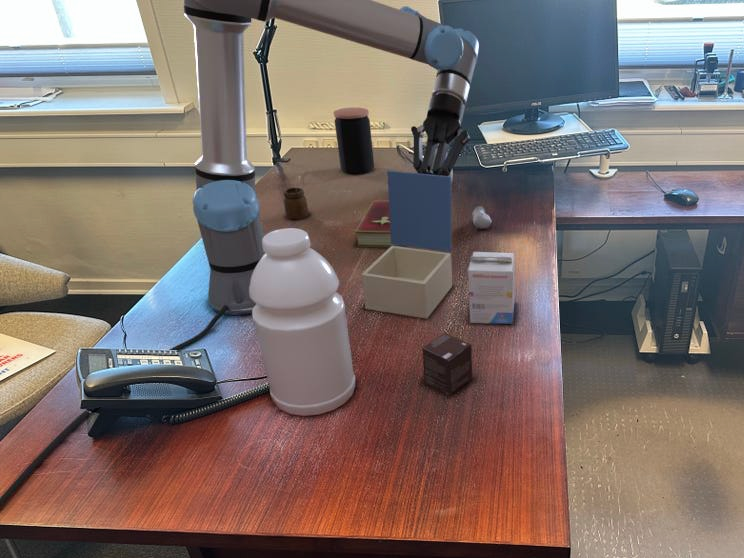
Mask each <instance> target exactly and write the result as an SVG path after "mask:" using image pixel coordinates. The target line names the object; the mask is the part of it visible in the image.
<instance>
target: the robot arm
mask: <svg viewBox="0 0 744 558" xmlns="http://www.w3.org/2000/svg"><path fill="white" fill-rule="evenodd" d="M182 1H183V13H184V16H185V17H186V18H187V20H188V21H189V22H190V23H191V24H192V26H193V29H194V30H193V31H194V43H195V44H194V46H195V47H194V48H195V62H196V77H197V78H196V80H197V94H198V109H199V110H198V111H199V125H200V141H201V143H200V144H201V156H200V158H198V159H197V160H196V162H194V172H195V173H194V174H195V186H196V188H195V192H194V194H193V196H192V205H193V206H192V209H193V214H194V217H195V219H196V221H197V225H198V228H199V233H200V236H201V240H202V243H203V247H204V251H205V254H206V259H207V262H208V266H209V270H210V271H209V282H208V291H207V296H208V302H209V305H210V308H211V309H212V310H213V311H215V312H217V313H216V314H215V315H214V316H213V318H211V320H210V321H209V323H208V324H207V325H206V327H205V328H204V329H203V330H202V331H200V332H199V333H198V334H196V335H195V336H193V337H191V338H189V339H188V340H185V341H184V342H181V343H179V344H177V345H175V346H173V347H172V348H169V350H178V351H181V350H183V349H184V348H187V347H189V346H191V345H192V344H194V343H196V342H198V341H200V340H201V339H203V338H204V337H205V336H206V335H208V333H209V332H210V331H211V330H212V328H213V327H214V326H215V324H217V322H218V321H219V320H220V318H221V317H222V316H223V315H227V316H247V315H252V310H253V308H254V307H255V305H256V303H255V302H254V301H253V300H252V299H251V298H250V296H249V286H250V280H251V276H252V273H253V271H254V269H255V267H256V265H257V264H258V262H259V261H260V260H261V258H262V257H263V255H264V254H265V252H264V251H263V246H262V239H263V237H264V236H265V232H264V227H263V222H262V218H261V212H260V203H259V198H258V197H257V195H256V167H255V165H254V164H253V163H252V162H251V161H249V159H248V151H247V149H248V147H247V117H246V116H247V115H246V111H247V110H246V84H245V83H246V81H245V80H246V79H245V77H246V76H245V46H244V45H245V43H244V42H245V41H244V33H245V31H246V30H247V29H248V28H249V27H250V26H252V19H253V20H256V21H261V22H262V23H268V22H269V21H271V20H272V19H276V20H279V21H283V22H286V23H289V24H293V25H296V26H299V27H303V28H306V29H309V30H313V31H316V32H319V33H323V34H326V35H330V36H333V37H335V38H340V39H343V40H346V41H350V42H353V43H356V44H360V45H362V46H366V47H369V48H372V49H376V50H380V51H383V52H387V53H390V54H393V55H396V56H400V57H402V58H405V59H410V60H412V61H415V62H418V63H422V64H426V65H428V66H430V67H431V68H433V69H435V70H437V72H436V76H435V81H434V85H433V88H432V91H431V97H430V100H429V104H428V108H427V111H426V118H425V119H424V120H423V122H422V124H421V125H420V126H418V127H417V126H415V125H413V126H411V127H410V131H411V133H412V136H413V164H412V165H413V169H414V170H415V171H416V173H420V174H430V175H440V176H449V175H450V173H451V171H452V169H453V168H454V167H455V165H456V163H457V160H458V158H459V156H460V155H461V152H462V151H463V148H464V147H465V146H466V145H467V144H468V142H470V141H471V138H470V135H469V133H468V130H466V129H463V127H462V121H463V117H464V114H465V109H466V105H467V101H468V96H469V94H470V93H469V92H470V87H471V83H472V79H473V75H474V71H475V68H476V65H477V63H478V54H479V48H480V44H479V40H478V38H477V36H476V35H475V34H473V32H471V31H469V30H464V28H453V26H450V25H448V24H444V23H441V22H437V21H435V20H432V19H430V18H427V17H425V16H424V15H423V14H421V13H420V12H419V11H418V10H415V9H413V8H411V7H409V6H407V5H405V6H402V7H400V9H399V8H395V7H392V6H390V5H387V4H384V3H381V2H378V1H375V0H182ZM424 133H425V134H426V136H427V139H426V140H427V141H426V147H425V151H424V155H423V147H424V146H423V144H424V143H423V138H424V135H425V134H424ZM453 140H454V141H453ZM451 142H453V143H452V144H451ZM450 144H451V145H452V146H451V147H450ZM436 149H437V153H436V157H435V161H434V165H433V169H432V168H431V167H432V163H433V159H434V155H435V151H436ZM448 150H449V151H448ZM446 153H447V157H446ZM445 157H446V159H445ZM431 170H432V172H433V174H432V173H431V172H430V171H431ZM86 410H87V409H85V410H84V411H83V412H82V413H81V414H80V415H79V416H77V417H76V418H75V419H74V420H73V421H72V422H71V423H70V424H69V425H68V426H66V427H65V428H64V429H63V430H62V431H61V432H60V433H59V434H58V435H57V436H56V437H55V438H54V439H53V440H52V441H51V442H50V443H49V444H48V445H47V446H46V447H45V448H43V450H42V451H41V452H40V454H38V455H37V456H36V457H35V458H34V459H33V461H32V462H31V463H30V464H29V465H27V467H26V468H25V469H24V470H23V471H22V472H21V474H19V476H18V477H17V478H16V479H15V481H14V482H13V483H12V484H11V485H10V486H9V487H8V489H6V490H5V491H4V493H2V495H0V509H1V508H2V507H4V505H5V504H6V503H7V501H8V500H9V499H10V498H11V497H12V496H13V495H14V494H15V492H16V491H18V489H19V488H20V487H21V486H22V484H23V483H24V482H25V481H26V480H27V478H29V477H30V475H31V474H32V473H33V472H34V471H35V470H36V469H37V468H38V466H40V464H41V463H43V461H44V460H45V459H46V458H47V457H48V456H49V455H50V454H51V453H52V451H53V450H55V448H56V447H57V446H58V445H60V443H61V442H62V441H63V440H64V439H66V437H68V436H69V434H71V433H72V432H73V431H74V430H75V429H76V428H77V427H78V426H79V425H80V424H81V423H82V422H83V421H85V419H86V418H88V417H89V416H90V415H91V414H90V413H89V412H87V411H86Z"/></svg>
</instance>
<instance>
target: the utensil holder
mask: <svg viewBox="0 0 744 558" xmlns="http://www.w3.org/2000/svg"><path fill="white" fill-rule="evenodd" d="M276 174H277V175H276V176H277V177H278V179H279V182H280V184H281V186H282V188H283V197H284V198H283V205H284V211H285V215H286V217H287V219H289V220H302V219H305V218H306V217H308V216H309V208H308V201H307V198H306V196H305V191H304V189H303V187H296V184H294V187H289V188H286V187H285V185H284V183H283V181H282V179H281V177H280V175H279V172H276ZM297 177H298V184H300V182H301V183H303V177H302V175H301V174H296V175H295V176H294V180H296V178H297ZM300 177H301V178H300ZM300 180H301V181H300Z"/></svg>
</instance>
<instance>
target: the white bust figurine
mask: <svg viewBox="0 0 744 558" xmlns="http://www.w3.org/2000/svg"><path fill="white" fill-rule="evenodd" d="M471 216H472V223H473V225H474V227H476V228H477V229H480V230H485V229H489V227H490V226H491V224H492V219H491V218H490V215H489V214H487V213H486V210H485V208H484V207H483V206H482V205H478V206H476V207H475V208H473V211H472V213H471Z"/></svg>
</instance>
